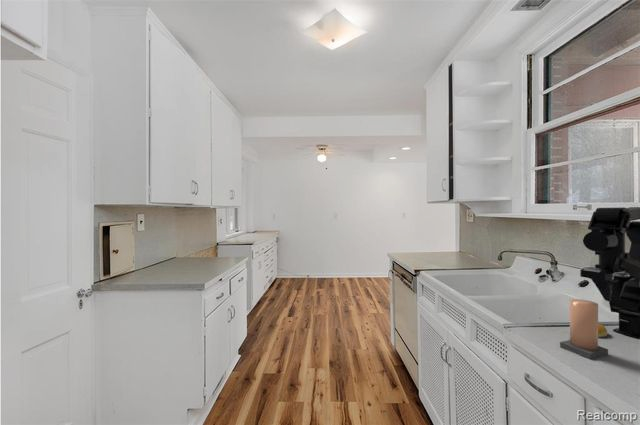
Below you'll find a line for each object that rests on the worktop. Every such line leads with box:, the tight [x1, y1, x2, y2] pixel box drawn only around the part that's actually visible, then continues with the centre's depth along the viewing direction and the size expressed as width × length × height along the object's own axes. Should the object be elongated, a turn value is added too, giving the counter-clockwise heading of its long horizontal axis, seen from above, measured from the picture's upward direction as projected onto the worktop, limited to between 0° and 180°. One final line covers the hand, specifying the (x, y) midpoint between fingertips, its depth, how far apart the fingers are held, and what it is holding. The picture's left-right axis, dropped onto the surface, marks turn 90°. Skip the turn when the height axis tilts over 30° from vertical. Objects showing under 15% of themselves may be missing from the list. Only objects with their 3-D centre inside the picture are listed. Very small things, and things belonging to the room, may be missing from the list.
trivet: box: [559, 339, 609, 360], centre depth 84 cm, size 8×8×2 cm
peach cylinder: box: [569, 298, 599, 350], centre depth 84 cm, size 6×6×12 cm
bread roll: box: [598, 322, 608, 338], centre depth 96 cm, size 8×9×4 cm
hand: (612, 299), depth 88 cm, fingers open, 4 cm apart
